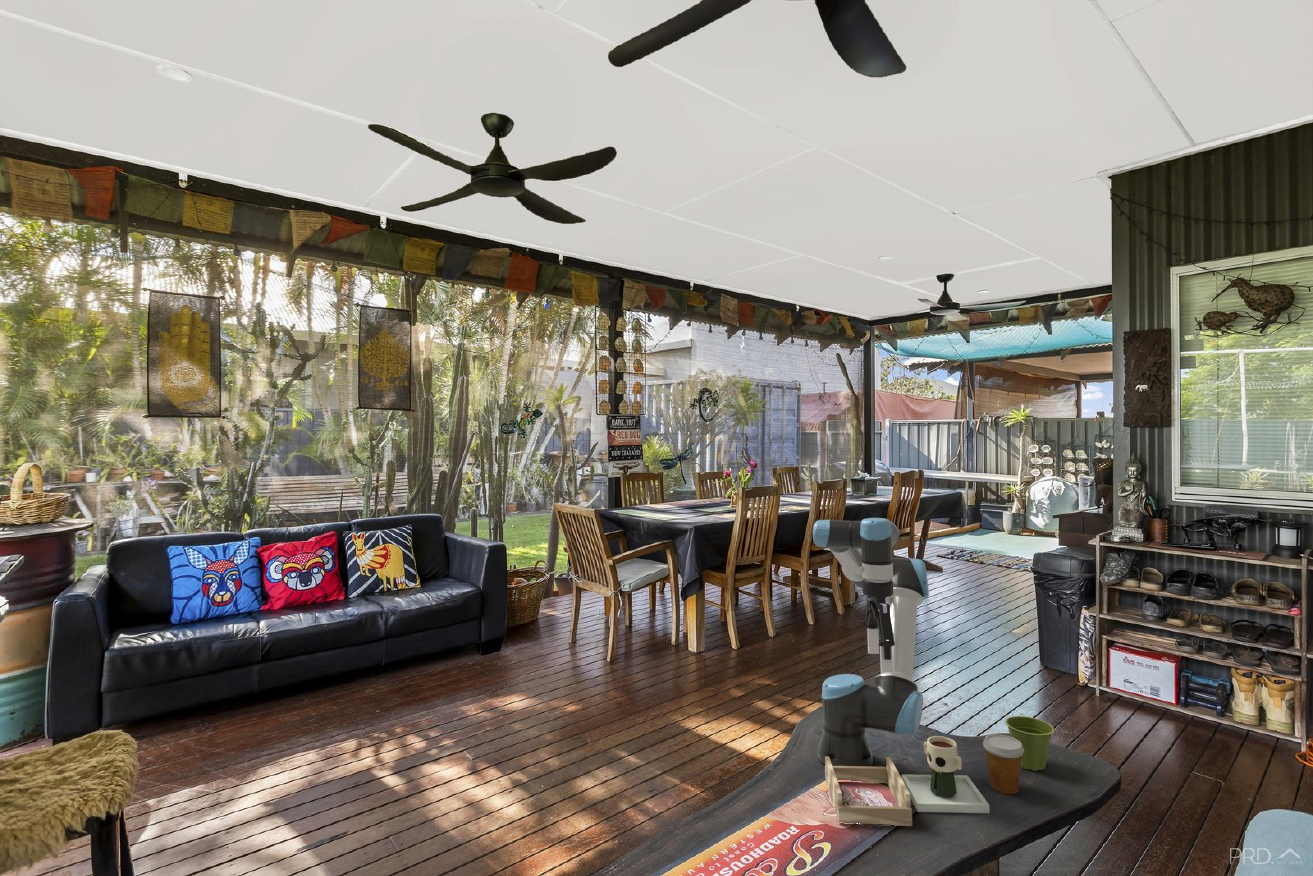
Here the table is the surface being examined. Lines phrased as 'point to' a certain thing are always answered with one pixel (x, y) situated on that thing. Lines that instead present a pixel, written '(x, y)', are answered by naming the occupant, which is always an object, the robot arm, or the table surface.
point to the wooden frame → (870, 814)
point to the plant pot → (1031, 740)
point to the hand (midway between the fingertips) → (880, 662)
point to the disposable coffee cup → (1003, 762)
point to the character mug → (942, 764)
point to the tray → (961, 802)
